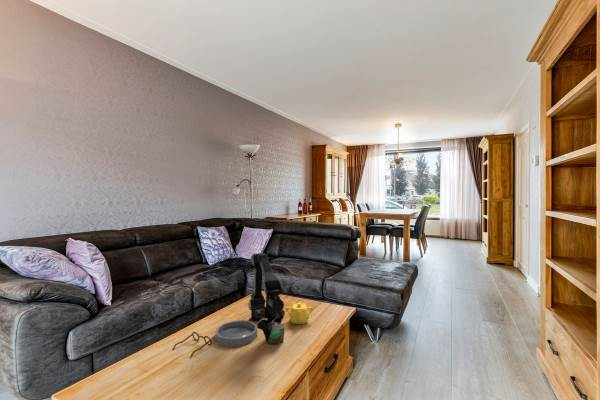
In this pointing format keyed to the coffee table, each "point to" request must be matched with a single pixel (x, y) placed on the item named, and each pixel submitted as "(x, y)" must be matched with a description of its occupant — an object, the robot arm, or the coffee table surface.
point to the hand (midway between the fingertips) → (271, 336)
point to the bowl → (236, 333)
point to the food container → (276, 333)
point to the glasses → (197, 340)
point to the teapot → (299, 313)
